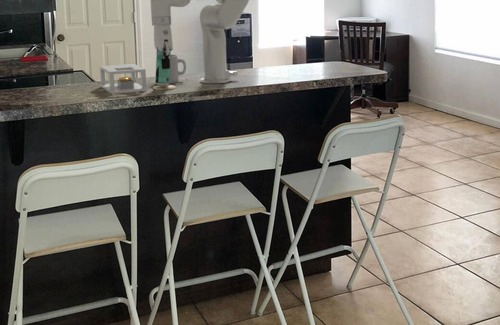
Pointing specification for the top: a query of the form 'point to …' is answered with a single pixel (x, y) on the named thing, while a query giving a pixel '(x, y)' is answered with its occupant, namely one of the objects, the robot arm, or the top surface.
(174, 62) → the mug
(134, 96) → the top surface
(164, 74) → the spray can
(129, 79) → the button
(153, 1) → the robot arm
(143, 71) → the white open box frame
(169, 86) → the coaster
